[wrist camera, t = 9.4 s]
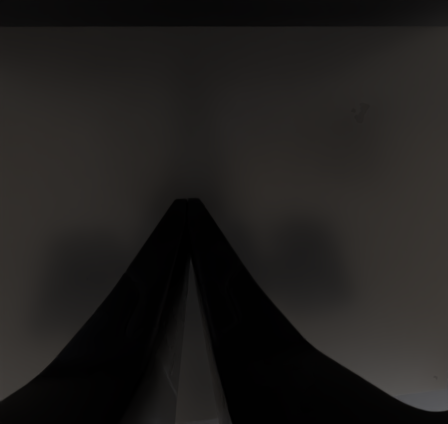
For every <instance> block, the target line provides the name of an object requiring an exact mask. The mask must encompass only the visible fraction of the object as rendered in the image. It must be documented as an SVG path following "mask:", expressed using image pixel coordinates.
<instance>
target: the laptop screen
mask: <svg viewBox="0 0 448 424" xmlns="http://www.w3.org/2000/svg"><path fill="white" fill-rule="evenodd" d="M182 198H186V199H187V200H188V198H200V199H201V201H202V202H203V204H204V205H205V207H206V208H207V210H208V211H209V213H210V214H211V216H212V217H213V219H214V220H215V222H216V223H217V225H218V226H219V228H220V229H221V231H222V232H223V234H224V235H225V237H226V238H227V240H228V241H229V243H230V244H231V246H232V247H233V249H234V250H235V252H236V253H237V255H238V256H239V258H240V259H241V261H242V263H243V264H244V265H245V267H246V268H247V270H248V271H249V273H250V274H251V275H252V277H253V278H254V280H255V281H256V282H257V284H258V285H259V286H260V287H261V289H262V290H263V291H264V292H265V294H266V295H267V296H268V297H269V298H270V299H271V301H272V302H273V303H274V304H275V305H276V306H277V307H278V309H279V310H280V311H281V312H282V313H283V314H284V315H285V317H286V318H287V319H288V320H289V321H290V322H291V324H292V325H293V326H294V327H295V328H296V329H297V330H298V331H299V333H300V334H301V335H302V336H303V337H304V338H305V339H306V340H307V341H308V342H309V343H310V344H312V345H313V346H314V347H315V348H317V349H318V350H319V351H321V352H322V353H324V354H325V355H327V356H328V357H330V358H332V359H333V360H335V361H336V362H338V363H340V364H341V365H343V366H344V367H346V368H348V369H349V370H351V371H352V372H354V373H356V374H357V375H359V376H361V377H362V378H364V379H365V380H367V381H369V382H370V383H372V384H373V385H375V386H377V387H378V388H380V389H381V390H383V391H385V392H386V393H388V394H389V395H391V396H393V397H394V398H396V399H398V400H400V401H402V402H404V403H406V404H408V405H411V406H413V407H416V408H418V409H423V410H427V411H445V410H448V0H0V401H2V400H3V399H5V398H6V397H8V396H9V395H11V394H12V393H14V392H15V391H17V390H18V389H20V388H21V387H23V386H24V385H26V384H27V383H28V382H30V381H31V380H32V379H33V378H35V377H36V376H37V375H38V374H39V373H40V372H42V371H43V370H44V369H45V368H46V367H47V366H48V365H49V364H50V363H51V362H52V361H53V360H54V359H55V357H56V356H57V355H58V354H59V353H60V352H61V351H62V349H63V348H64V347H65V346H66V345H67V344H68V342H69V341H70V340H71V339H72V338H73V337H74V335H75V334H76V333H77V332H78V331H79V330H80V328H81V327H82V326H83V325H84V324H85V323H86V321H87V320H88V319H89V318H90V317H91V316H92V314H93V313H94V312H95V311H96V309H97V308H98V307H99V306H100V305H101V303H102V302H103V301H104V300H105V299H106V297H107V296H108V295H109V293H110V292H111V291H112V289H113V288H114V286H115V285H116V284H117V282H118V281H119V279H120V278H121V276H122V275H123V274H124V272H126V269H127V268H128V267H129V265H130V264H131V262H132V261H133V259H134V258H135V256H136V255H137V253H138V252H139V251H140V249H141V248H142V246H143V245H144V243H145V242H146V240H147V239H148V238H149V236H150V235H151V233H152V232H153V230H154V229H155V227H156V226H157V224H158V223H159V222H160V220H161V219H162V217H163V216H164V214H165V213H166V211H167V210H168V208H169V207H170V206H171V204H172V203H173V201H174V200H175V199H182ZM175 424H219V421H218V415H217V409H216V403H215V397H214V391H213V385H212V380H211V374H210V368H209V362H208V356H207V350H206V344H205V338H204V333H203V327H202V321H201V315H200V309H199V303H198V297H197V292H196V286H195V280H194V274H193V268H192V261H190V273H189V283H188V293H187V304H186V314H185V324H184V334H183V345H182V355H181V365H180V376H179V386H178V396H177V407H176V417H175Z"/></svg>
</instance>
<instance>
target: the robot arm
mask: <svg viewBox="0 0 448 424" xmlns="http://www.w3.org/2000/svg"><path fill="white" fill-rule="evenodd" d="M190 261H192V268H193V274H194V280H195V286H196V292H197V297H198V303H199V309H200V315H201V321H202V327H203V333H204V338H205V344H206V350H207V356H208V362H209V368H210V374H211V380H212V385H213V391H214V397H215V403H216V409H217V415H218V421H219V424H448V410H445V411H427V410H423V409H418V408H416V407H413V406H411V405H408V404H406V403H404V402H402V401H400V400H398V399H396V398H394V397H393V396H391V395H389V394H388V393H386V392H385V391H383V390H381V389H380V388H378V387H377V386H375V385H373V384H372V383H370V382H369V381H367V380H365V379H364V378H362V377H361V376H359V375H357V374H356V373H354V372H352V371H351V370H349V369H348V368H346V367H344V366H343V365H341V364H340V363H338V362H336V361H335V360H333V359H332V358H330V357H328V356H327V355H325V354H324V353H322V352H321V351H319V350H318V349H317V348H315V347H314V346H313V345H312V344H310V343H309V342H308V341H307V340H306V339H305V338H304V337H303V336H302V335H301V334H300V333H299V331H298V330H297V329H296V328H295V327H294V326H293V325H292V324H291V322H290V321H289V320H288V319H287V318H286V317H285V315H284V314H283V313H282V312H281V311H280V310H279V309H278V307H277V306H276V305H275V304H274V303H273V302H272V301H271V299H270V298H269V297H268V296H267V295H266V294H265V292H264V291H263V290H262V289H261V287H260V286H259V285H258V284H257V282H256V281H255V280H254V278H253V277H252V275H251V274H250V273H249V271H248V270H247V268H246V267H245V265H244V264H243V263H242V261H241V259H240V258H239V256H238V255H237V253H236V252H235V250H234V249H233V247H232V246H231V244H230V243H229V241H228V240H227V238H226V237H225V235H224V234H223V232H222V231H221V229H220V228H219V226H218V225H217V223H216V222H215V220H214V219H213V217H212V216H211V214H210V213H209V211H208V210H207V208H206V207H205V205H204V204H203V202H202V201H201V199H200V198H188V200H187V199H186V198H182V199H175V200H174V201H173V203H172V204H171V206H170V207H169V208H168V210H167V211H166V213H165V214H164V216H163V217H162V219H161V220H160V222H159V223H158V224H157V226H156V227H155V229H154V230H153V232H152V233H151V235H150V236H149V238H148V239H147V240H146V242H145V243H144V245H143V246H142V248H141V249H140V251H139V252H138V253H137V255H136V256H135V258H134V259H133V261H132V262H131V264H130V265H129V267H128V268H127V269H126V272H124V274H123V275H122V276H121V278H120V279H119V281H118V282H117V284H116V285H115V286H114V288H113V289H112V291H111V292H110V293H109V295H108V296H107V297H106V299H105V300H104V301H103V302H102V303H101V305H100V306H99V307H98V308H97V309H96V311H95V312H94V313H93V314H92V316H91V317H90V318H89V319H88V320H87V321H86V323H85V324H84V325H83V326H82V327H81V328H80V330H79V331H78V332H77V333H76V334H75V335H74V337H73V338H72V339H71V340H70V341H69V342H68V344H67V345H66V346H65V347H64V348H63V349H62V351H61V352H60V353H59V354H58V355H57V356H56V357H55V359H54V360H53V361H52V362H51V363H50V364H49V365H48V366H47V367H46V368H45V369H44V370H43V371H42V372H40V373H39V374H38V375H37V376H36V377H35V378H33V379H32V380H31V381H30V382H28V383H27V384H26V385H24V386H23V387H21V388H20V389H18V390H17V391H15V392H14V393H12V394H11V395H9V396H8V397H6V398H5V399H3V400H2V401H0V424H175V417H176V407H177V396H178V386H179V376H180V365H181V355H182V345H183V334H184V324H185V314H186V304H187V293H188V283H189V273H190Z"/></svg>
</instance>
